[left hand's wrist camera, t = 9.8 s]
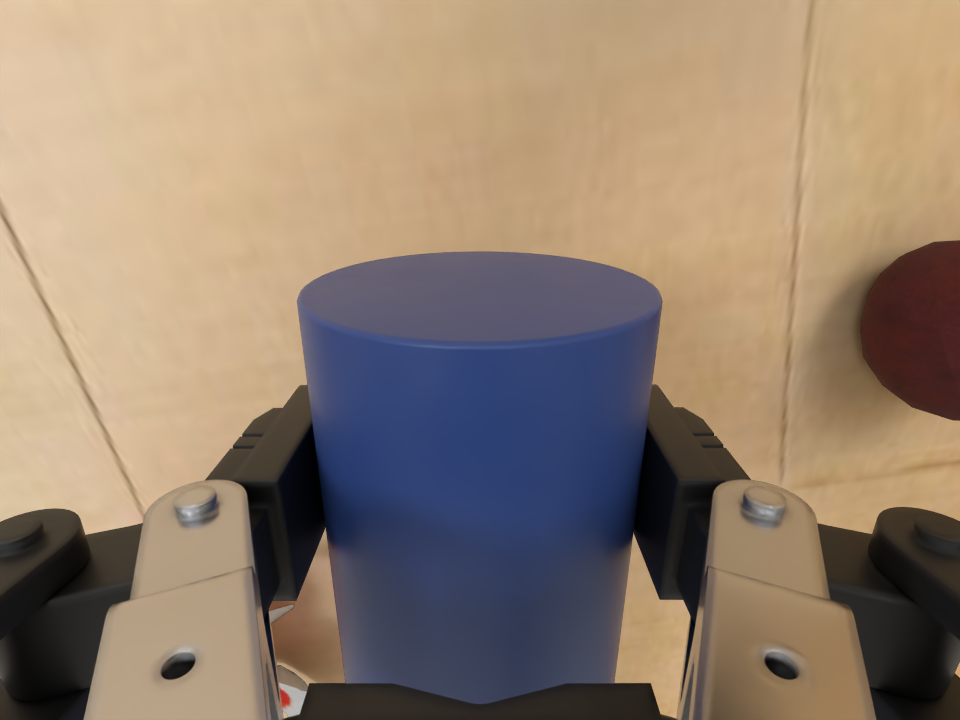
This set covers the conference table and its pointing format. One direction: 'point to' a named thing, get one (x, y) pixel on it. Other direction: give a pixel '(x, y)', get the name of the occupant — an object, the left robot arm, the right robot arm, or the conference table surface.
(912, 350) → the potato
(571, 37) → the conference table surface
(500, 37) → the conference table surface
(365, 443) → the rod
